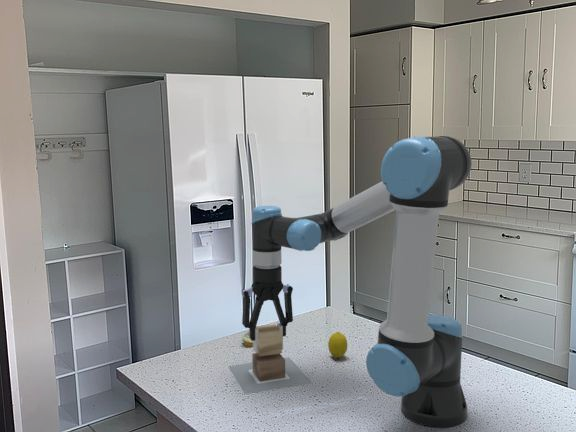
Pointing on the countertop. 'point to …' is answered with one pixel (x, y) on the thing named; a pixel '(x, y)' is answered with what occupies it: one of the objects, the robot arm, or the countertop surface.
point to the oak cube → (269, 340)
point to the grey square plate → (253, 384)
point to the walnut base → (268, 366)
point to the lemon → (337, 344)
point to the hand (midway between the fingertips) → (268, 349)
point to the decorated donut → (247, 340)
